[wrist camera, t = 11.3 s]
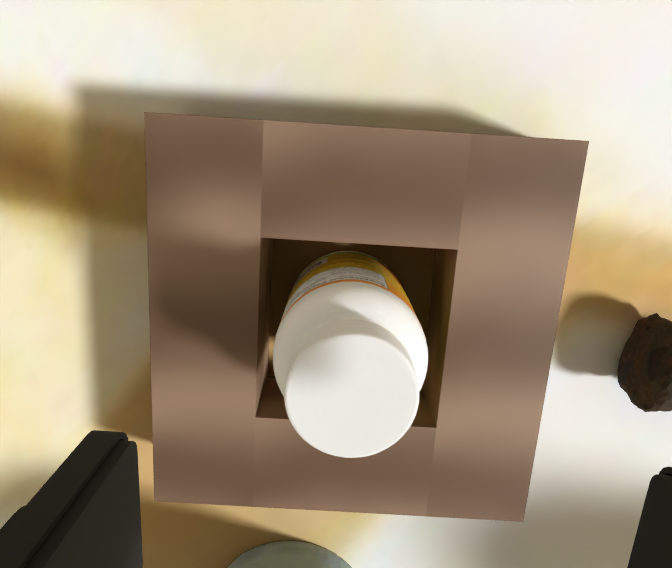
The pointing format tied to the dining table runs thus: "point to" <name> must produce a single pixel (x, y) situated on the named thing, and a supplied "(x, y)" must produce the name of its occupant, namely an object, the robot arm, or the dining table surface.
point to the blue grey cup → (289, 556)
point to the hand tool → (648, 365)
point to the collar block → (363, 228)
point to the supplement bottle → (350, 356)
